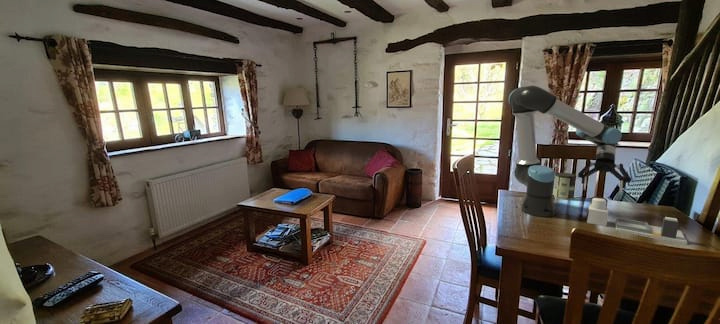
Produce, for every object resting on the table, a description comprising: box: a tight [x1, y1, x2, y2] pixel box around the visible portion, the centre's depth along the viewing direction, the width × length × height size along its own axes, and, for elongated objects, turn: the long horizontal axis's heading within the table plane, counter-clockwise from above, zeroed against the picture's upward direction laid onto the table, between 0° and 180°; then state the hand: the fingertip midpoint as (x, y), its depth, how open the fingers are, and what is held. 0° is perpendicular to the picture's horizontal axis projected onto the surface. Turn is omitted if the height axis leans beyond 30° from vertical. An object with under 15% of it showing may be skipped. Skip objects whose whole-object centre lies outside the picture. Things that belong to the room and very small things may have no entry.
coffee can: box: [553, 172, 577, 201], centre depth 175 cm, size 10×10×14 cm
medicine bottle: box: [586, 196, 609, 227], centre depth 138 cm, size 7×7×12 cm
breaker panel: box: [614, 216, 688, 245], centre depth 127 cm, size 21×13×3 cm, turn 51°
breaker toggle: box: [661, 216, 680, 239], centre depth 120 cm, size 4×3×8 cm
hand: (602, 191), depth 143 cm, fingers open, 13 cm apart
